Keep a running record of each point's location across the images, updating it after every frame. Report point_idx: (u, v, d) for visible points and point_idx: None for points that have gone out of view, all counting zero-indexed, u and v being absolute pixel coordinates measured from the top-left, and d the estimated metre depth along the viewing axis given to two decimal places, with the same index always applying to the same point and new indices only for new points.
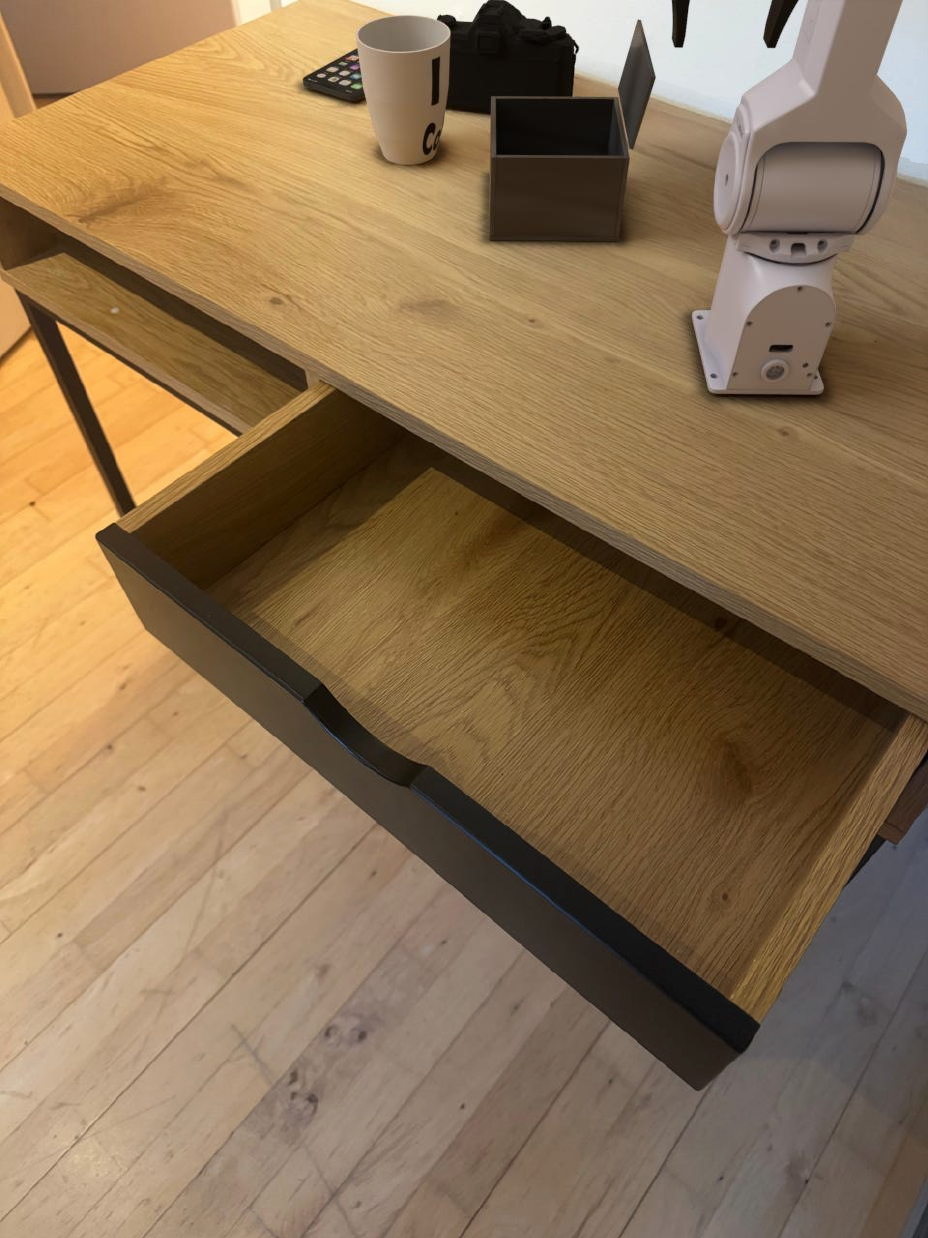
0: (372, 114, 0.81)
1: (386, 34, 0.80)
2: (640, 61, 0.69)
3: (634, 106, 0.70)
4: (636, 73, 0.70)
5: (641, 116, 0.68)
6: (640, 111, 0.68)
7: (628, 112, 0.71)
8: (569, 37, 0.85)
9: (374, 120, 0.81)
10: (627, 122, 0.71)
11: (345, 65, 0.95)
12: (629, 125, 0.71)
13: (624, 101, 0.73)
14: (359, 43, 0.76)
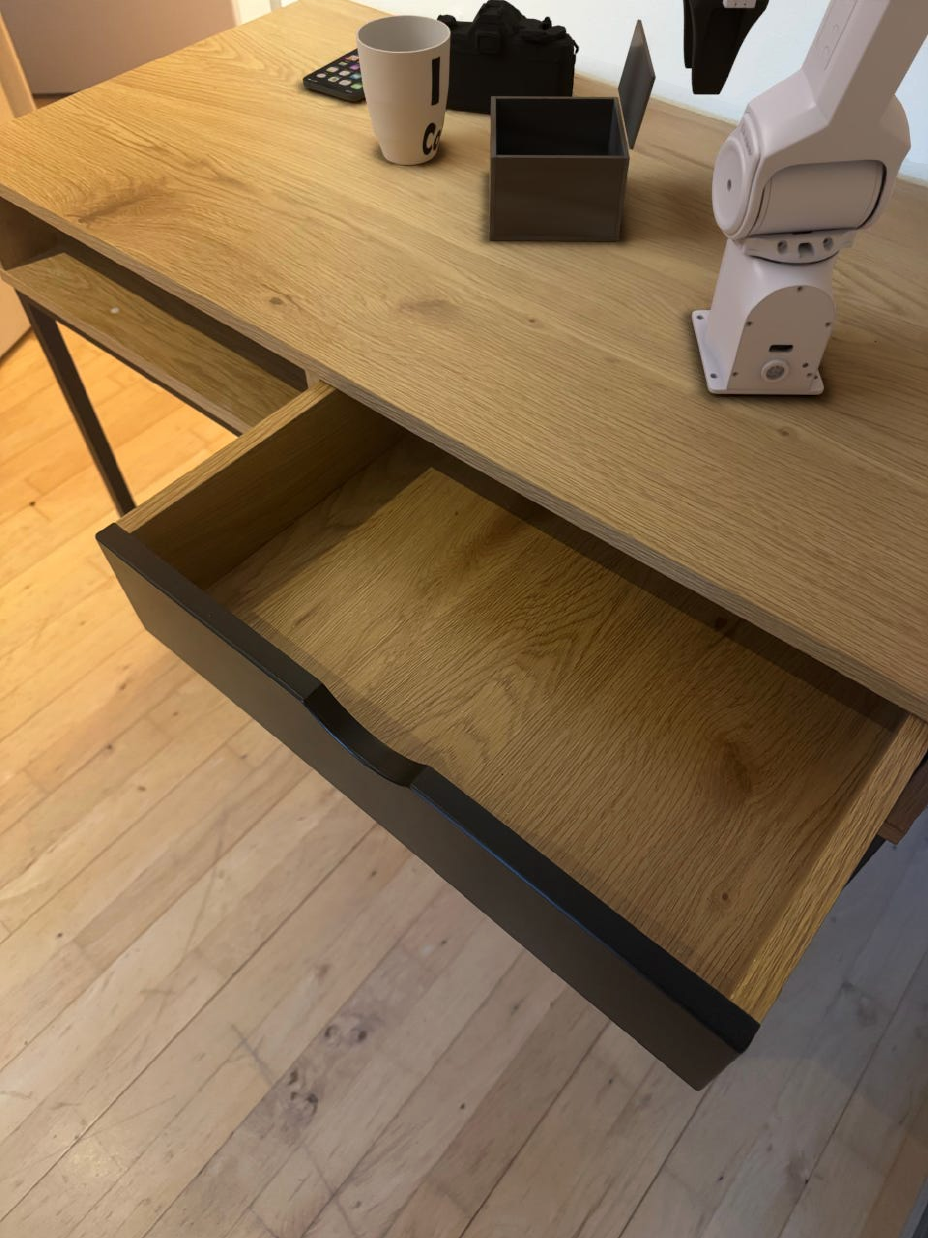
0: (372, 114, 0.81)
1: (386, 34, 0.80)
2: (640, 61, 0.69)
3: (634, 106, 0.70)
4: (636, 73, 0.70)
5: (641, 116, 0.68)
6: (640, 111, 0.68)
7: (628, 112, 0.71)
8: (569, 37, 0.85)
9: (374, 120, 0.81)
10: (627, 122, 0.71)
11: (345, 65, 0.95)
12: (629, 125, 0.71)
13: (624, 101, 0.73)
14: (359, 43, 0.76)
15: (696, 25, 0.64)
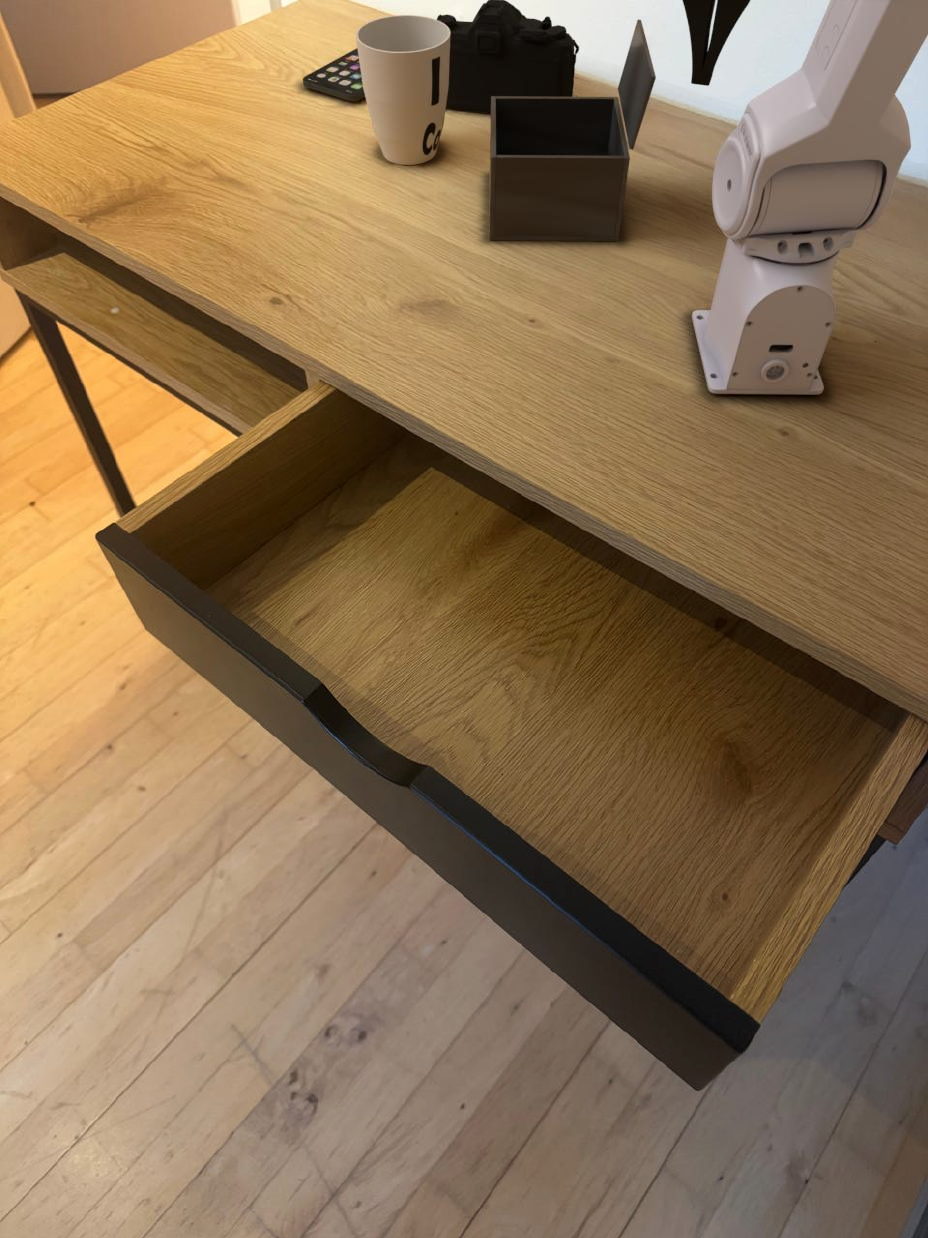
0: (372, 114, 0.81)
1: (386, 34, 0.80)
2: (640, 61, 0.69)
3: (634, 106, 0.70)
4: (636, 73, 0.70)
5: (641, 116, 0.68)
6: (640, 111, 0.68)
7: (628, 112, 0.71)
8: (569, 37, 0.85)
9: (374, 120, 0.81)
10: (627, 122, 0.71)
11: (345, 65, 0.95)
12: (629, 125, 0.71)
13: (624, 101, 0.73)
14: (359, 43, 0.76)
15: (739, 17, 0.65)
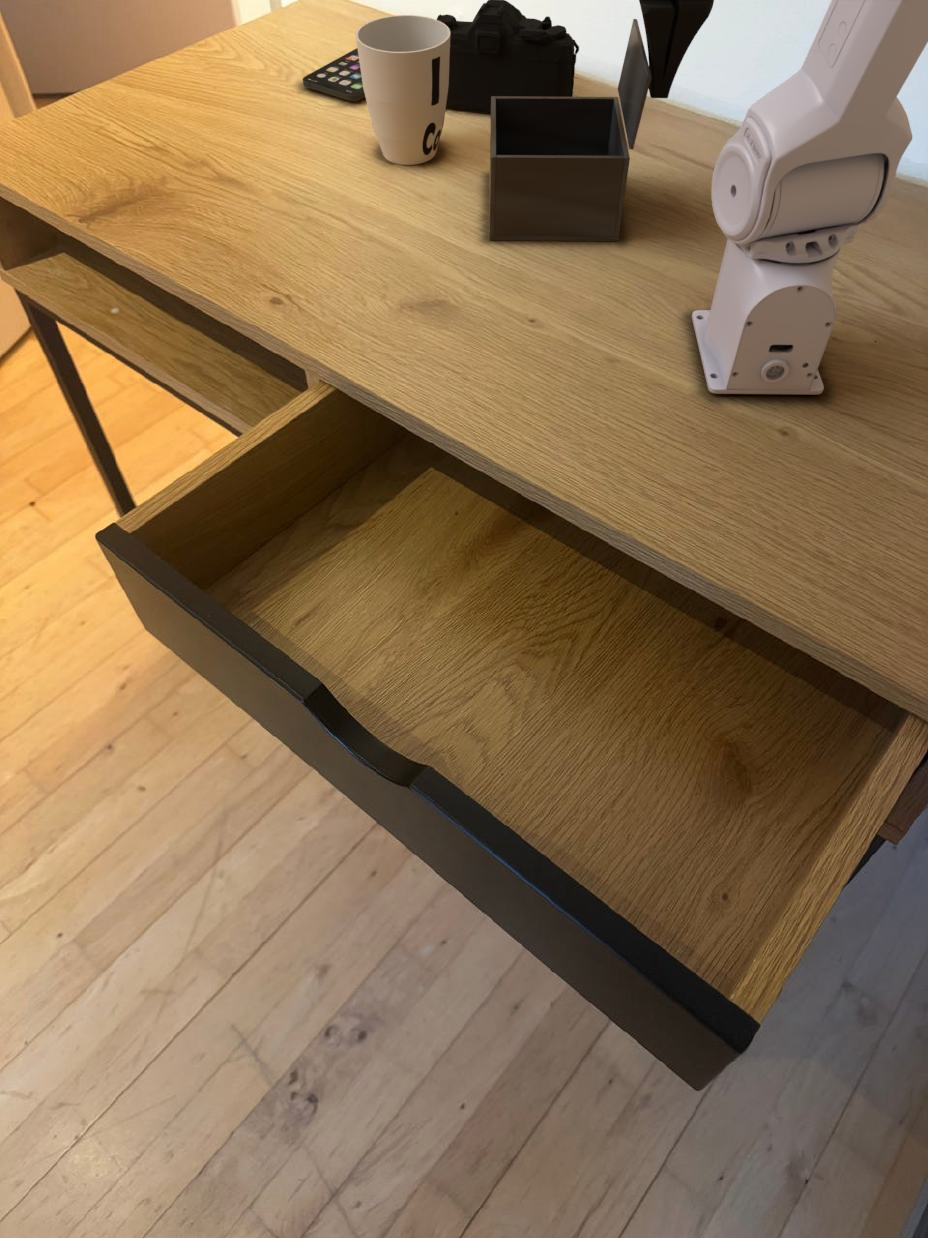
0: (372, 114, 0.81)
1: (386, 34, 0.80)
2: (636, 61, 0.69)
3: (632, 106, 0.70)
4: (633, 73, 0.70)
5: (639, 116, 0.68)
6: (638, 111, 0.68)
7: (627, 112, 0.71)
8: (569, 37, 0.85)
9: (374, 120, 0.81)
10: (627, 122, 0.71)
11: (345, 65, 0.95)
12: (628, 125, 0.71)
13: (623, 101, 0.73)
14: (359, 43, 0.76)
15: (698, 30, 0.66)
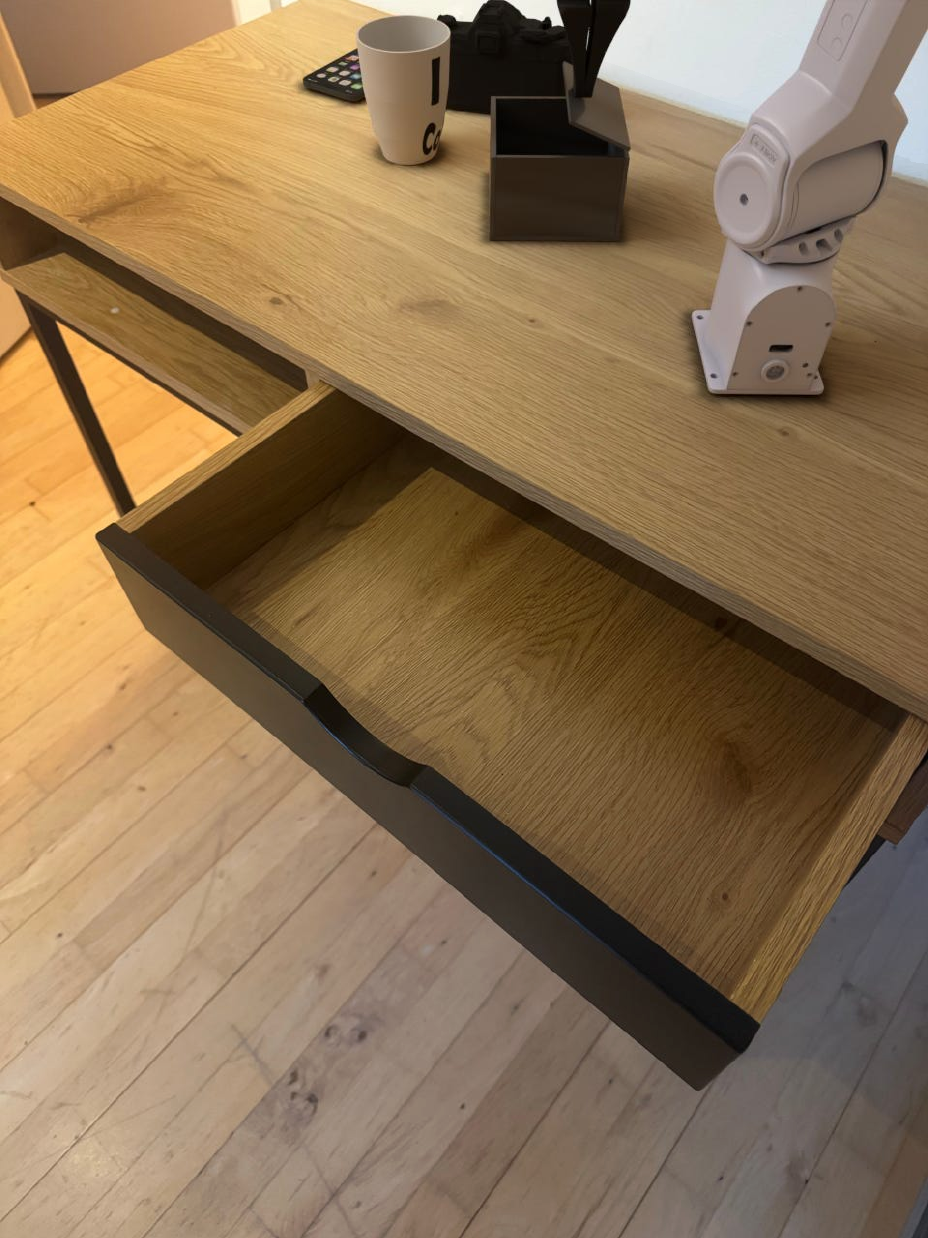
0: (372, 114, 0.81)
1: (386, 34, 0.80)
2: None
3: None
4: None
5: (602, 137, 0.69)
6: None
7: None
8: None
9: (374, 120, 0.81)
10: None
11: (345, 65, 0.95)
12: None
13: None
14: (359, 43, 0.76)
15: (617, 29, 0.66)
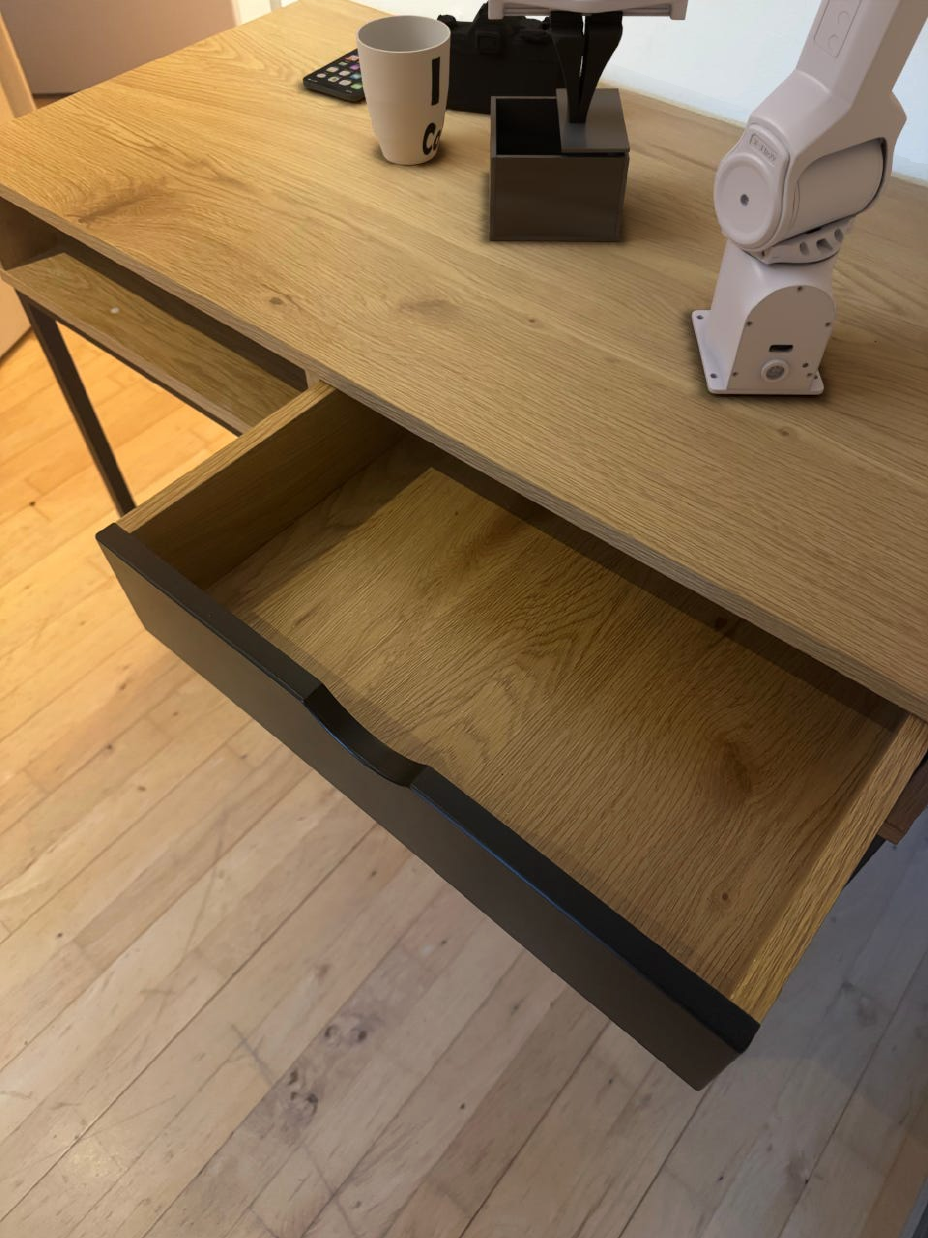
0: (372, 114, 0.81)
1: (386, 34, 0.80)
2: None
3: None
4: None
5: (598, 150, 0.70)
6: None
7: None
8: None
9: (374, 120, 0.81)
10: None
11: (345, 65, 0.95)
12: None
13: None
14: (359, 43, 0.76)
15: None
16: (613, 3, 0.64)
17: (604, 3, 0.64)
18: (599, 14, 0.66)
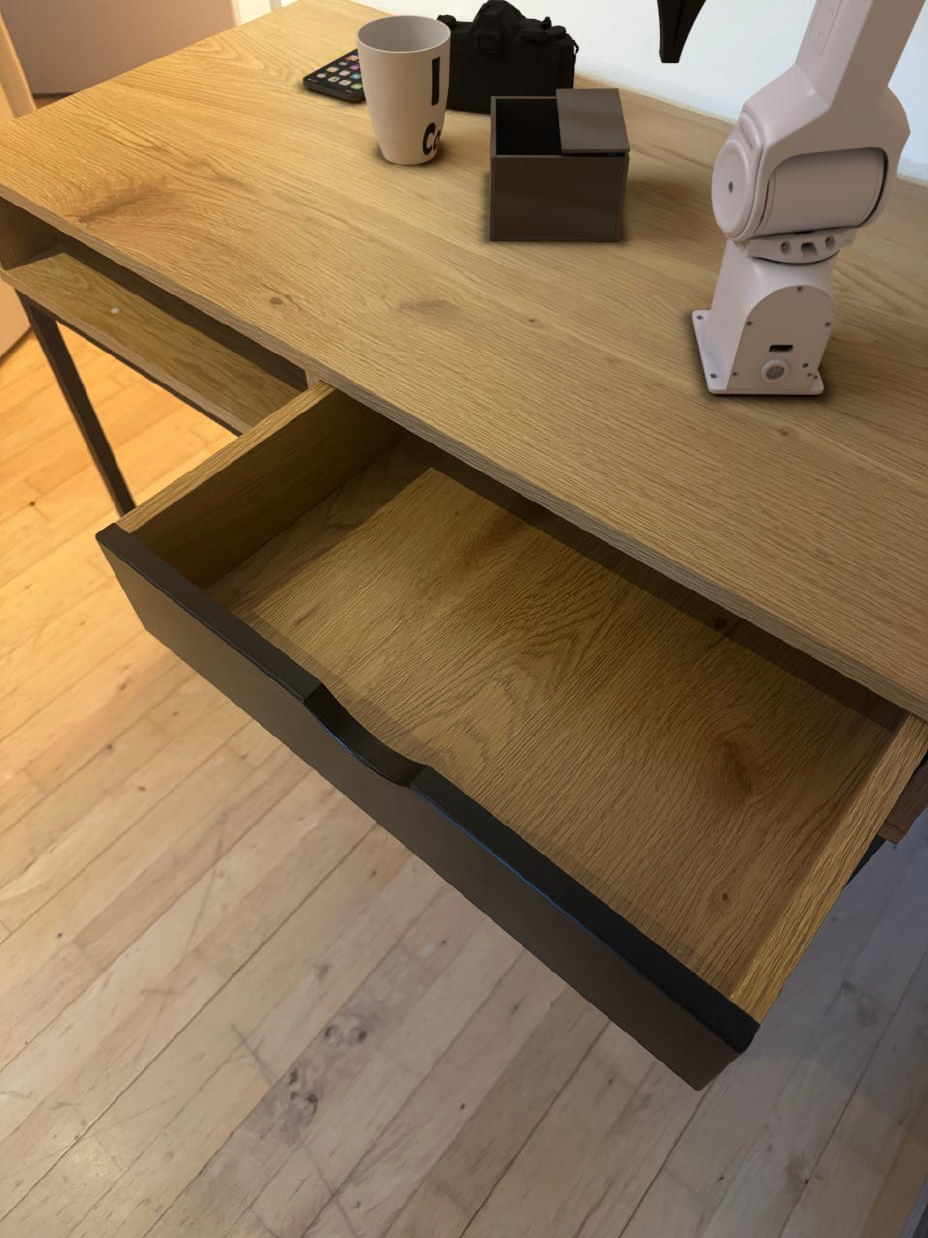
0: (372, 114, 0.81)
1: (386, 34, 0.80)
2: None
3: None
4: None
5: (598, 150, 0.70)
6: None
7: None
8: (569, 37, 0.85)
9: (374, 120, 0.81)
10: None
11: (345, 65, 0.95)
12: None
13: None
14: (359, 43, 0.76)
15: None
16: None
17: None
18: None
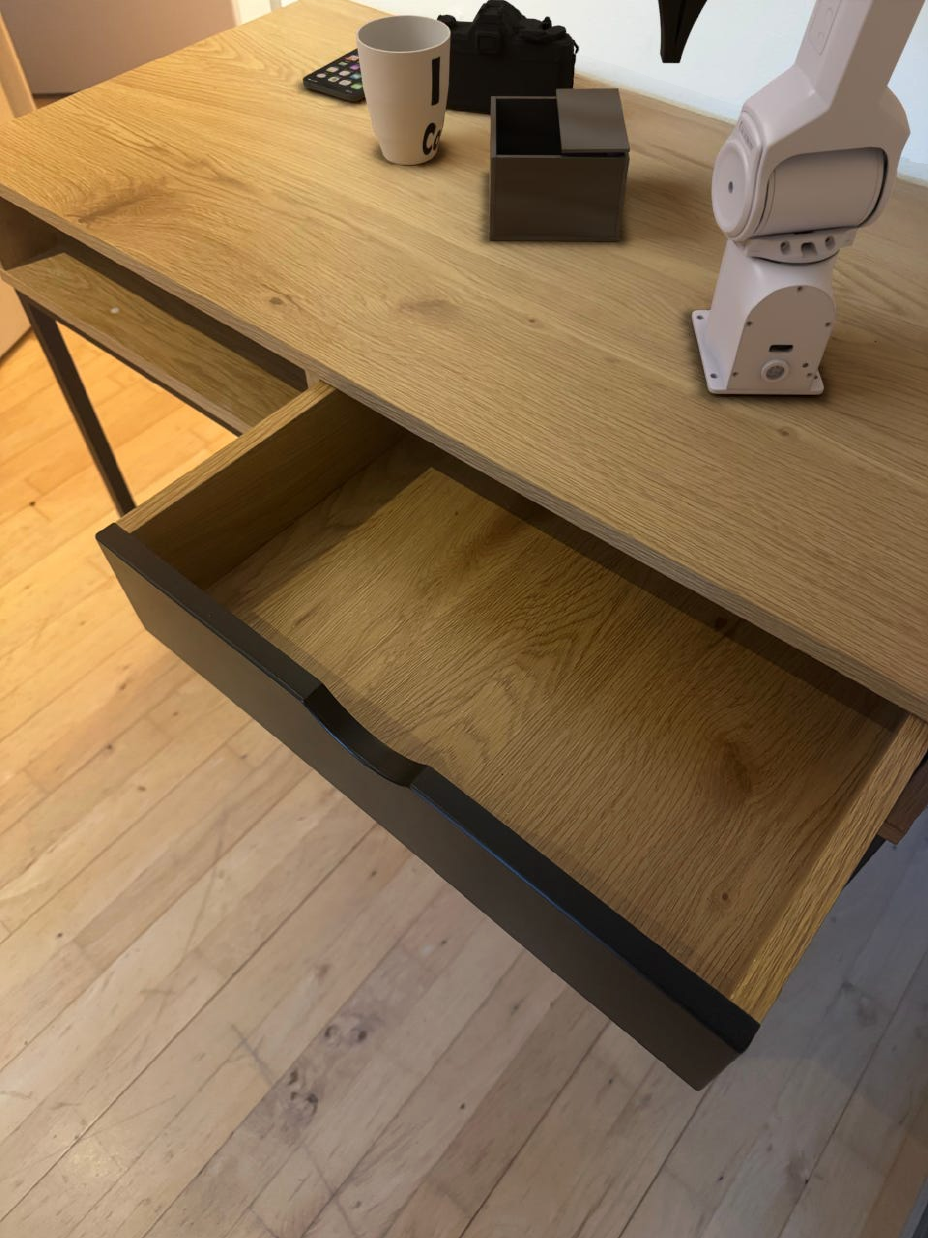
0: (372, 114, 0.81)
1: (386, 34, 0.80)
2: None
3: None
4: None
5: (598, 150, 0.70)
6: None
7: None
8: (569, 37, 0.85)
9: (374, 120, 0.81)
10: None
11: (345, 65, 0.95)
12: None
13: None
14: (359, 43, 0.76)
15: None
16: None
17: None
18: None
